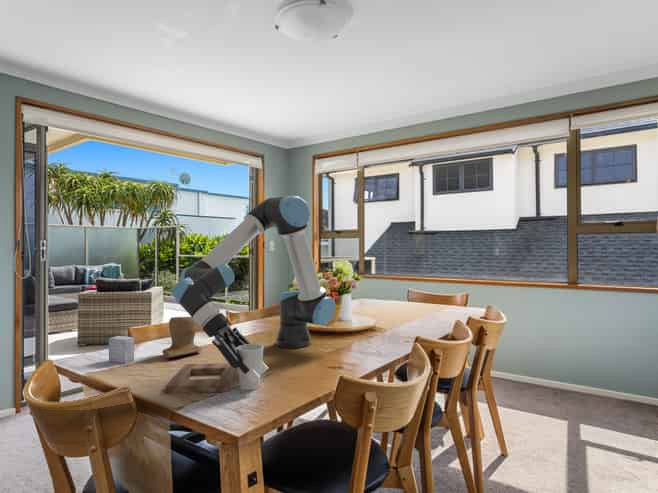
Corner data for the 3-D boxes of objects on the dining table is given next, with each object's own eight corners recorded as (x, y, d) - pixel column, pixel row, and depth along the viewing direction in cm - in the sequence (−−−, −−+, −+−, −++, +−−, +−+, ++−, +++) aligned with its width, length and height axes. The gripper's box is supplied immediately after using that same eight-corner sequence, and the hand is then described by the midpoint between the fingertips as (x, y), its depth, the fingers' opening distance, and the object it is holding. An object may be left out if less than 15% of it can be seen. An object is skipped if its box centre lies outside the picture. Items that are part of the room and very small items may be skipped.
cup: (238, 382, 128) (238, 344, 128) (264, 381, 129) (264, 343, 129) (234, 391, 120) (235, 350, 120) (262, 390, 121) (262, 350, 121)
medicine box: (134, 360, 151) (134, 337, 151) (125, 364, 147) (125, 339, 147) (118, 358, 154) (118, 335, 154) (108, 361, 150) (108, 338, 149)
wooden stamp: (189, 348, 170) (189, 312, 169) (206, 353, 162) (206, 315, 162) (154, 355, 158) (154, 317, 158) (170, 361, 150) (170, 320, 150)
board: (238, 368, 142) (238, 362, 142) (228, 391, 120) (228, 384, 120) (185, 369, 141) (185, 363, 141) (165, 393, 119) (165, 386, 119)
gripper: (218, 322, 137) (263, 373, 134) (186, 335, 117) (239, 395, 114) (232, 307, 136) (279, 358, 133) (203, 317, 116) (257, 378, 113)
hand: (260, 375), depth 124 cm, fingers closed on cup, 7 cm apart
